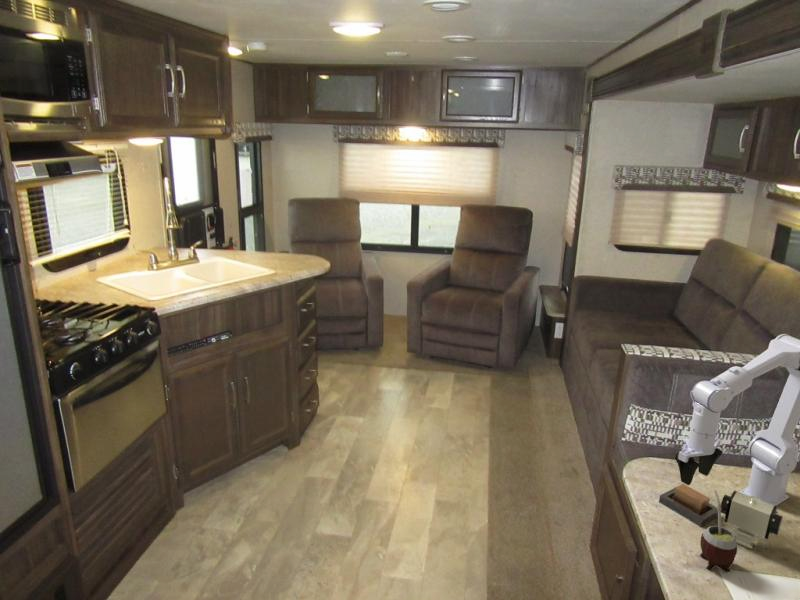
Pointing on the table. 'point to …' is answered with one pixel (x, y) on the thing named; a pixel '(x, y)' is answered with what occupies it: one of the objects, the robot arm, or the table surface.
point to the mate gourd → (718, 544)
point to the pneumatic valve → (750, 518)
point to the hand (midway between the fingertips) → (694, 478)
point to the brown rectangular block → (691, 499)
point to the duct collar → (687, 513)
